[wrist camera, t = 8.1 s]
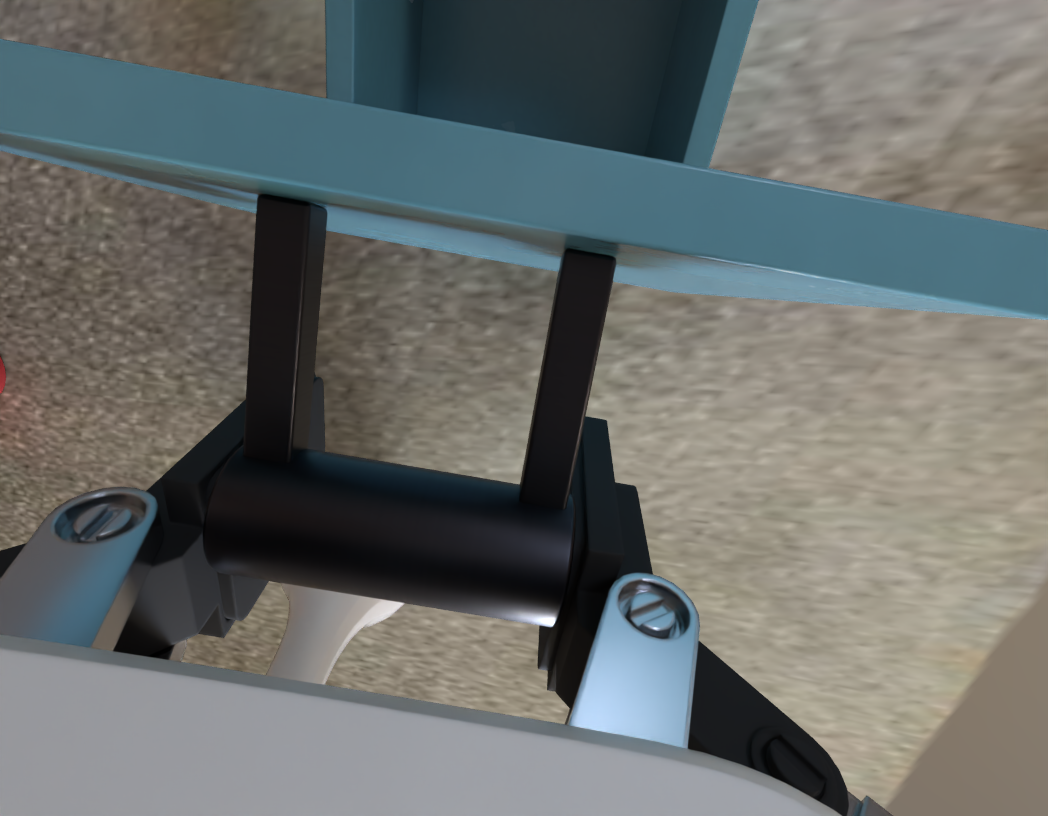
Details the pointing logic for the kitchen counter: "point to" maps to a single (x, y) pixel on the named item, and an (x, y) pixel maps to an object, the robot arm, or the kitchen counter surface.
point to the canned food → (2, 375)
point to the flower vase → (322, 630)
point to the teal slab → (480, 231)
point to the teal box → (548, 67)
